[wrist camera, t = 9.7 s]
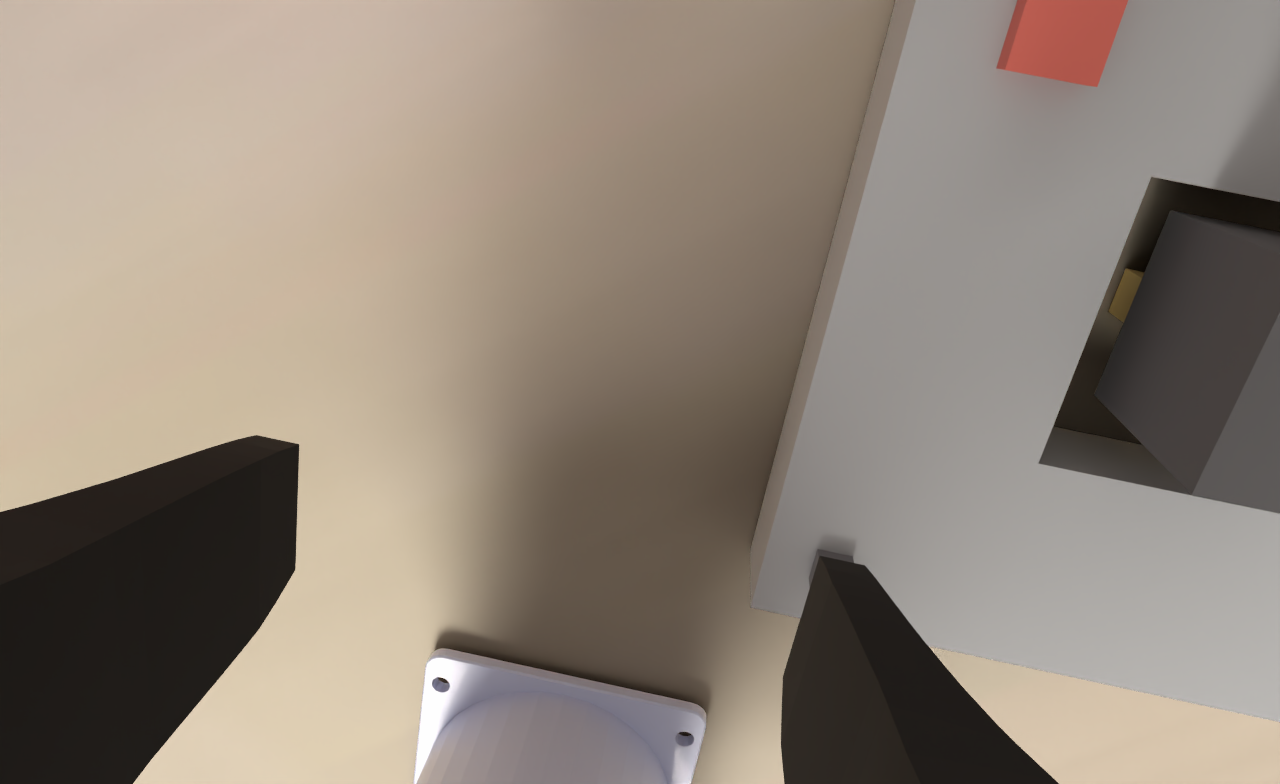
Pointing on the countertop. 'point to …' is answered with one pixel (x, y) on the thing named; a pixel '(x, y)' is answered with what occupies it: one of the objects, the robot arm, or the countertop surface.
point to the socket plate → (1026, 348)
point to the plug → (1203, 358)
